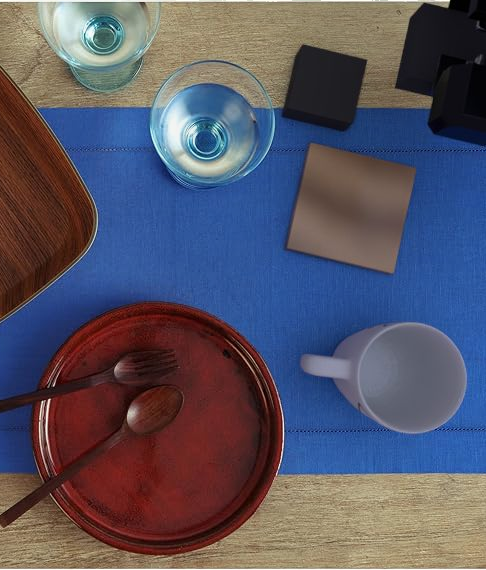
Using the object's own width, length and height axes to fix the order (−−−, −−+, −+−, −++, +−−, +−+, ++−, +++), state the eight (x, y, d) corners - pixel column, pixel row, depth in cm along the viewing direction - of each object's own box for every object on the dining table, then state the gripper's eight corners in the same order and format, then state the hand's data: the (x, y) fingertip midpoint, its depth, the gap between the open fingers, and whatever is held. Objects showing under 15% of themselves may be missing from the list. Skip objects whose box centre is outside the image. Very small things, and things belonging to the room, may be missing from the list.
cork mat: (307, 145, 57) (310, 141, 56) (412, 170, 57) (417, 167, 56) (284, 249, 57) (286, 248, 56) (389, 274, 57) (394, 274, 56)
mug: (280, 404, 56) (311, 424, 46) (289, 312, 57) (322, 311, 47) (405, 418, 56) (463, 440, 46) (413, 325, 57) (472, 327, 47)
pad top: (295, 55, 58) (302, 43, 55) (357, 70, 58) (367, 59, 55) (281, 116, 57) (287, 107, 55) (343, 131, 57) (353, 123, 55)
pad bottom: (409, 17, 50) (423, 1, 47) (481, 34, 50) (499, 19, 47) (394, 88, 50) (407, 76, 47) (466, 105, 50) (484, 94, 47)
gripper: (703, 134, 33) (520, 194, 48) (764, -194, 34) (566, -32, 49) (498, 85, 33) (381, 161, 48) (566, -242, 34) (430, -64, 49)
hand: (444, 56), depth 49 cm, fingers closed on pad bottom, 6 cm apart
